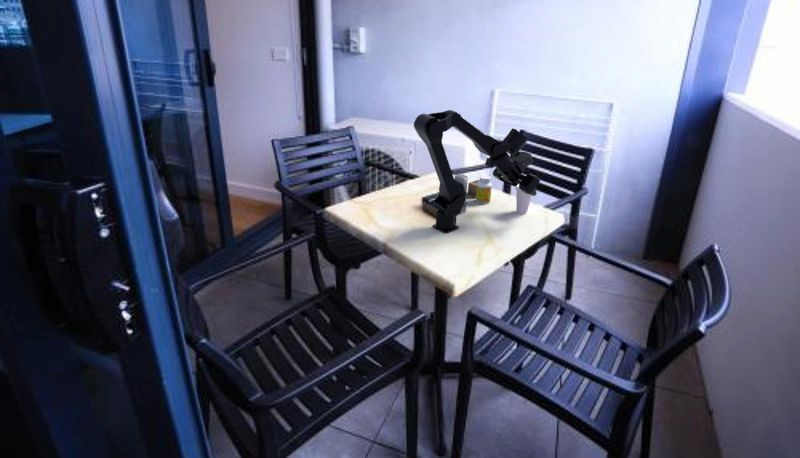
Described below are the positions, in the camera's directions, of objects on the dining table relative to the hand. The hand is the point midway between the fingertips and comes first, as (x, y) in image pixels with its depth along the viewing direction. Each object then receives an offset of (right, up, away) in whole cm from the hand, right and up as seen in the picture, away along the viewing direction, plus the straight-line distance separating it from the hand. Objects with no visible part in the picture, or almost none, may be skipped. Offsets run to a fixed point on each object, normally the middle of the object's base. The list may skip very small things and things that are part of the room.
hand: (526, 190), depth 166 cm
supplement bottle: (-13, -3, +12) cm, 18 cm away
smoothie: (-1, -8, +3) cm, 8 cm away
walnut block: (-14, 0, +18) cm, 23 cm away
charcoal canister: (-22, -1, +16) cm, 27 cm away
